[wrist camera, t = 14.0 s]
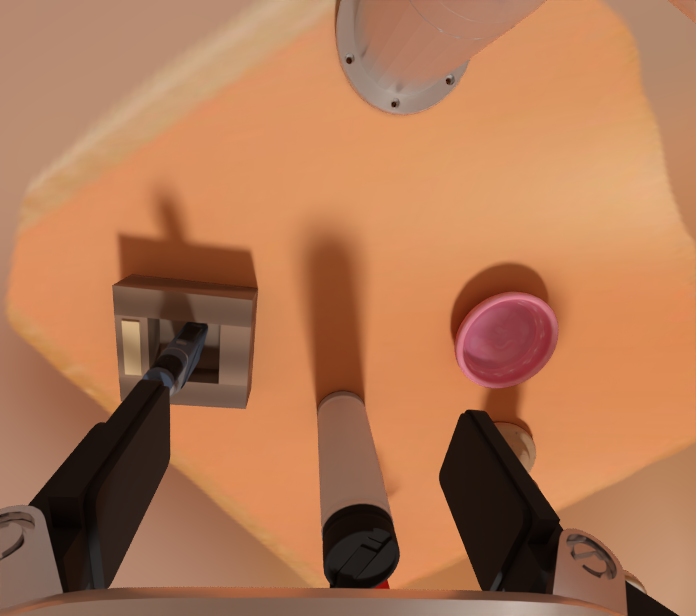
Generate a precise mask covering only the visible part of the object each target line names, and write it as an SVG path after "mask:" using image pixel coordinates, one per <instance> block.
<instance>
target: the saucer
mask: <svg viewBox="0 0 696 616" xmlns="http://www.w3.org/2000/svg"><path fill="white" fill-rule="evenodd" d="M557 340H558V322H557V319H556V316H555V314H554V312H553V310H552V309H551V308H550V306H549V305H548V304H547V303H546V302H544V301H543V300H541V299H540V298H538V297H536V296H534V295H531V294H528V293H524V292H505V293H500V294H497V295H494V296H492V297H489V298H487V299H486V300H484V301H482V302H481V303H479V304H478V305H477V306H476V307H474V308H473V309H472V310H471V311H470V312H469V313H468V315H467V316H466V317H465V319H464V320H463V322H462V323H461V325H460V327H459V330H458V332H457V335H456V340H455V356H456V360H457V363H458V365H459V367H460V368H461V370H462V371H463V373H464V374H465V375H466V376H467V377H468V378H469V379H470V380H472V381H473V382H475V383H476V384H479V385H481V386H484V387H489V388H505V387H511V386H514V385H517V384H520V383H522V382H524V381H526V380H528V379H530V378H531V377H533V376H534V375H535V374H537V373H538V372H539V371H540V370H541V369H542V368H543V367H544V366H545V365H546V363H547V362H548V361H549V359H550V358H551V356H552V354H553V352H554V350H555V347H556V344H557Z"/></svg>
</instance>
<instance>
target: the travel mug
mask: <svg viewBox="0 0 696 616" xmlns="http://www.w3.org/2000/svg"><path fill="white" fill-rule="evenodd" d="M317 420H318V421H317V422H318V450H319V477H320V505H321V526H322V529H321V532H322V540H323V567H324V574H325V576H326V579H327V580H328V582H329V583H330V588H353V589H372V588H375V587H377V586H378V585H380V584H382V583H383V582H384V581H386V580H387V579H388V578H389V577H390V576H391V575H392V573H393V572H394V570H395V569H396V567H397V564H398V562H399V557H400V552H399V546H398V542H397V538H396V534H395V531H394V525H393V519H392V516H391V511H390V507H389V502H388V498H387V494H386V490H385V486H384V482H383V478H382V474H381V470H380V466H379V462H378V457H377V453H376V449H375V445H374V441H373V437H372V433H371V429H370V425H369V421H368V417H367V413H366V408H365V405H364V402H363V401H362V399H361V398H360V397H359V396H357V395H356V394H354V393H351V392H347V391H339V392H334V393H332V394H330V395H328V396H326V397H325V398H324V399H323V400H322V401H321V403H320V404H319V406H318V410H317Z"/></svg>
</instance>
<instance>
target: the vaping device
mask: <svg viewBox="0 0 696 616" xmlns="http://www.w3.org/2000/svg"><path fill="white" fill-rule="evenodd" d="M207 332H208V326H207V325H205V324H204V323H197V322H187V323H186V324H185V325H184V326H183V328H182V329H181V330H180V331H179V332H178V334H177V335H176V336H175V337H174V338H173V340H172V341H171V342H170V343H169V344H168V346H167V347H166V348H165V349H164V350H163V351H162V353H161V355H160V356H159V358H158V359H157V360H156V361H155V363H154V364H155V365H154V364H153V365H152V366H151V367H152V368H151V367H150V369H149V370H148V371H147V372H146V373H145V375H144V376H143V378H142V379H148V380H159V381H163V383H164V386H168V387H169V388H170V397H172V396H173V395H174V394H175V393H177V392H179V391H180V389H182V388H183V387H184V385H185V383H186V382H187V380H188V378H189V376H190V375H191V373H192V371H193V370H194V368H195V366H196V365H197V363H198V361H199V360H200V355H201V353H202V350H203V346H204V343H205V339H206V335H207Z"/></svg>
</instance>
